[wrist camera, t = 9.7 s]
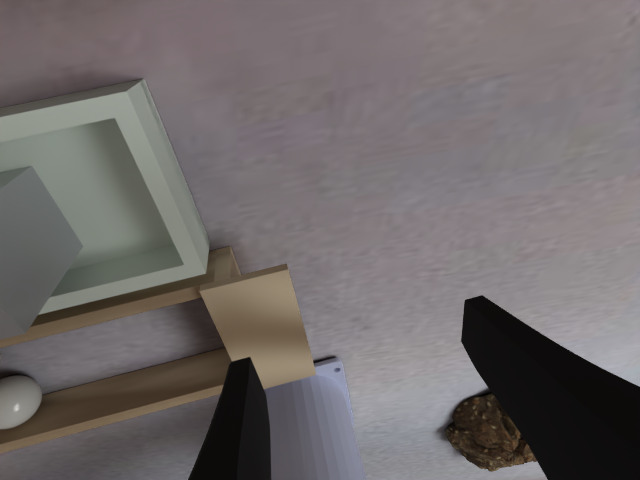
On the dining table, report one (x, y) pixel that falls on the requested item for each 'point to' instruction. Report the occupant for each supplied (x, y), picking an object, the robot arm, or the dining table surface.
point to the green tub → (109, 189)
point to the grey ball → (18, 400)
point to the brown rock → (487, 434)
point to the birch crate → (184, 374)
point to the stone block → (30, 249)
